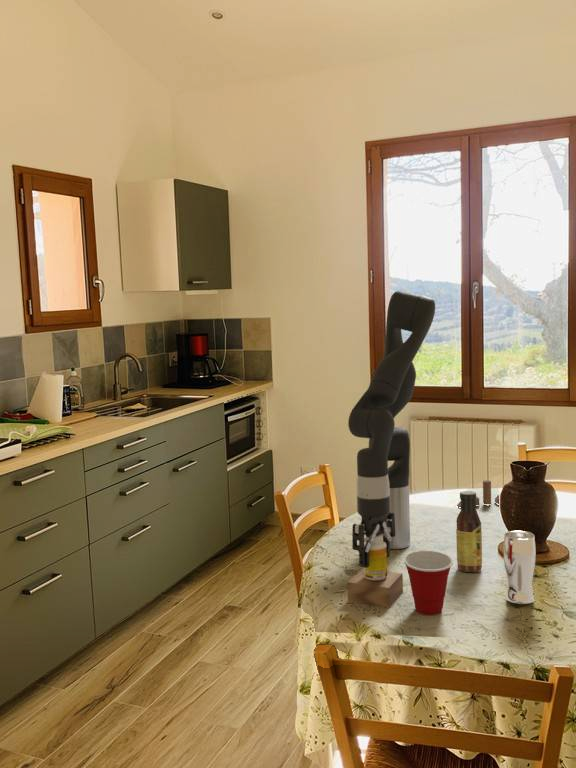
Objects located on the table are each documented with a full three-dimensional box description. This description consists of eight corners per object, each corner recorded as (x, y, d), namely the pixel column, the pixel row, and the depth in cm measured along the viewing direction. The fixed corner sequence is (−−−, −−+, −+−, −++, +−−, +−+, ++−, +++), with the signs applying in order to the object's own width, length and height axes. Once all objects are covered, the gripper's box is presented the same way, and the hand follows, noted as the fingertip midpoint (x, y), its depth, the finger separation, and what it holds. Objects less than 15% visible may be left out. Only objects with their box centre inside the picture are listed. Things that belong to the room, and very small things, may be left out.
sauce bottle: (482, 574, 188) (481, 496, 186) (457, 573, 189) (455, 496, 187) (481, 565, 194) (480, 489, 192) (456, 564, 195) (455, 489, 193)
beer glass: (531, 607, 166) (531, 541, 165) (500, 601, 170) (499, 537, 168) (539, 596, 172) (538, 532, 171) (508, 591, 176) (508, 528, 174)
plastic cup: (411, 622, 161) (410, 568, 160) (399, 603, 171) (398, 551, 170) (460, 618, 162) (459, 564, 161) (445, 599, 172) (444, 548, 171)
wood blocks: (502, 510, 245) (501, 479, 244) (505, 512, 243) (504, 480, 242) (427, 515, 243) (426, 483, 242) (429, 517, 240) (429, 485, 239)
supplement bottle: (391, 580, 173) (389, 536, 172) (368, 582, 172) (366, 539, 171) (382, 572, 179) (381, 530, 178) (360, 574, 177) (359, 532, 176)
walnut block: (348, 603, 173) (347, 582, 173) (363, 588, 182) (362, 568, 182) (389, 609, 169) (388, 587, 169) (403, 593, 178) (402, 573, 177)
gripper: (369, 502, 166) (371, 573, 167) (403, 489, 176) (405, 556, 178) (341, 498, 170) (343, 567, 172) (376, 485, 181) (378, 550, 183)
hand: (375, 561), depth 175 cm, fingers open, 8 cm apart
